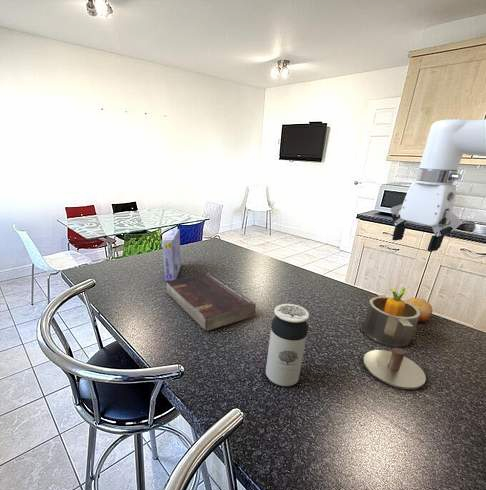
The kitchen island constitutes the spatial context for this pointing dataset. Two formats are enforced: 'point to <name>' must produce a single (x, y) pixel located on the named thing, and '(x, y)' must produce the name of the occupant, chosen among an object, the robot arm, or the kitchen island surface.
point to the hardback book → (210, 300)
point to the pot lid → (394, 368)
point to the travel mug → (287, 344)
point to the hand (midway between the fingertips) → (413, 245)
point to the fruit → (421, 308)
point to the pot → (390, 323)
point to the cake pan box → (171, 254)
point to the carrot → (395, 304)
